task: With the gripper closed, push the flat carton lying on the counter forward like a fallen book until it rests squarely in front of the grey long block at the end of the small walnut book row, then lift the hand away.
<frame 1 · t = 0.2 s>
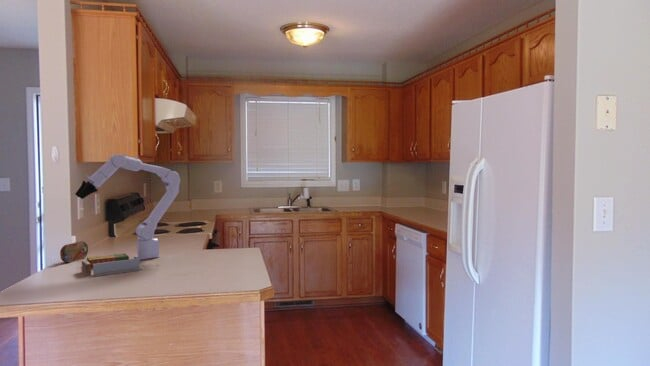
hand: (78, 196, 199), 31 cm above the countertop, tool tilted 45°, fingers open, 7 cm apart
grey long block: (117, 271, 189), on the countertop
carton: (108, 265, 202), on the countertop
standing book: (86, 273, 186), on the countertop
tin: (74, 261, 211), on the countertop
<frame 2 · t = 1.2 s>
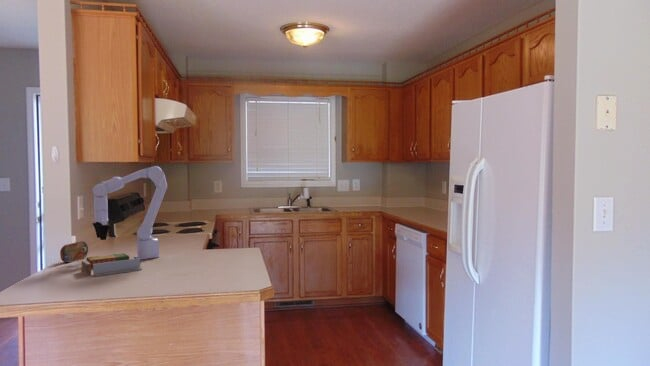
hand: (101, 238, 211), 10 cm above the countertop, tool pointing down, fingers open, 7 cm apart
nothing on the countertop moved.
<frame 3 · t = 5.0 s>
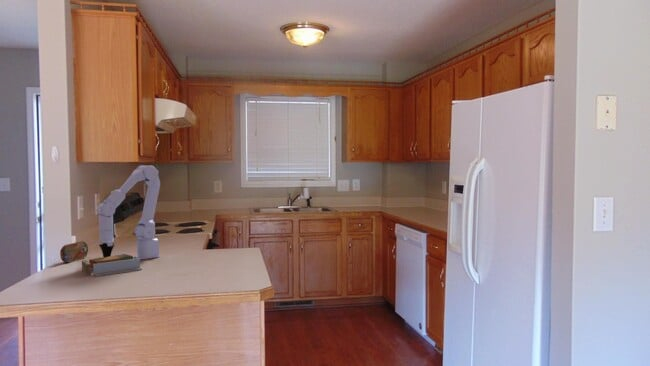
hand: (107, 259, 204), 2 cm above the countertop, tool pointing down, fingers closed
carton: (111, 267, 200), on the countertop
everything else where it was.
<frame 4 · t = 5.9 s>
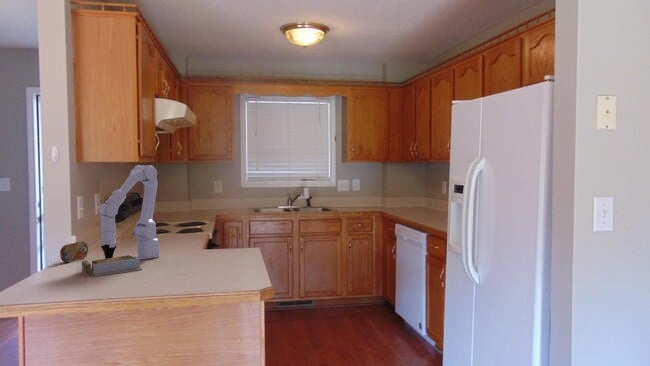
hand: (109, 261, 201), 2 cm above the countertop, tool pointing down, fingers closed
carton: (114, 268, 197), on the countertop
everything else where it was.
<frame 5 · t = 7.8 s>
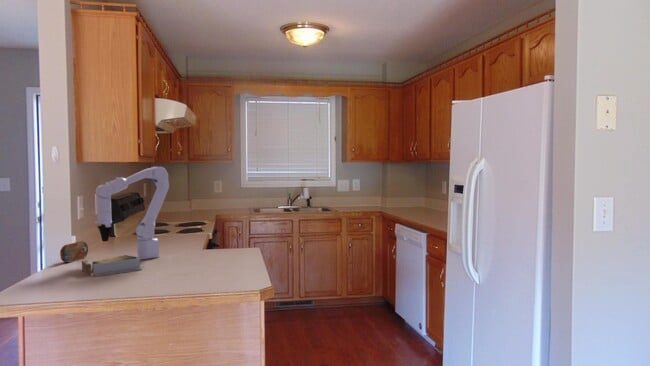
hand: (105, 241, 205), 10 cm above the countertop, tool pointing down, fingers closed
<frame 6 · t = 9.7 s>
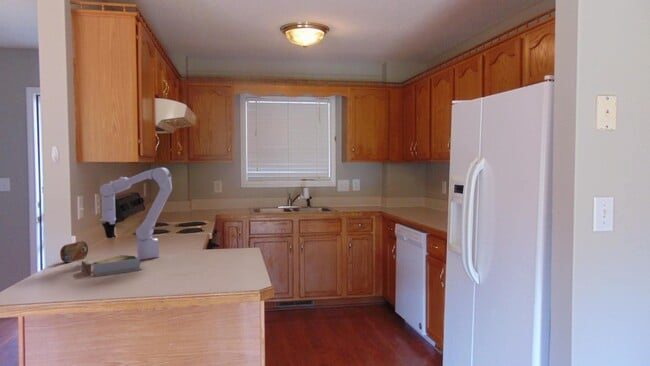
hand: (109, 237, 214), 10 cm above the countertop, tool pointing down, fingers closed
at the end: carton inside the target area (2.4 cm from its centre), on the countertop; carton moved 7.5 cm from its start; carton touching countertop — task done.
